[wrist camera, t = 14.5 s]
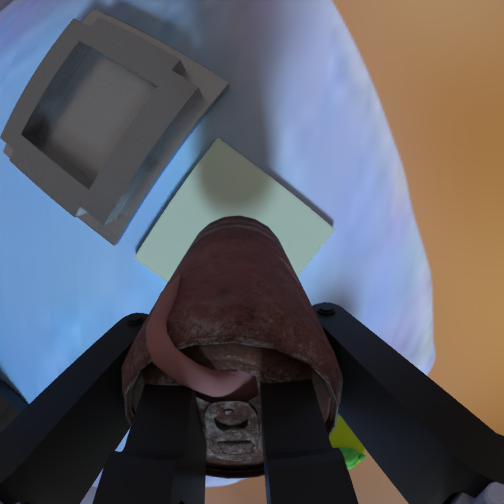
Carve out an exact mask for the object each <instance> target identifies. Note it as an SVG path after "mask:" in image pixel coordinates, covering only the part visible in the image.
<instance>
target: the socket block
mask: <svg viewBox="0 0 504 504" xmlns="http://www.w3.org/2000/svg"><path fill="white" fill-rule="evenodd" d="M228 87H229V83H228V82H227V81H225V80H224V79H222V78H221V77H219V76H218V75H216V74H214V73H213V72H211V71H210V70H208V69H207V68H205V67H203V66H202V65H200V64H198V63H197V62H195V61H194V60H192V59H190V58H189V57H187V56H185V55H183V54H182V53H180V52H178V51H177V50H175V49H173V48H171V47H170V46H168V45H166V44H164V43H162V42H160V41H159V40H157V39H155V38H153V37H151V36H149V35H147V34H145V33H143V32H141V31H140V30H138V29H136V28H134V27H131V26H129V25H127V24H125V23H123V22H121V21H119V20H117V19H115V18H112V17H110V16H108V15H106V14H104V13H101V12H99V11H97V10H94V9H93V10H92V11H91V12H90V13H89V14H88V16H87V17H86V18H85V19H84V20H83V21H82V22H80V21H78V20H76V19H73V20H72V21H71V22H70V24H69V25H68V26H67V27H66V29H65V30H64V31H63V32H62V34H61V35H60V36H59V38H58V39H57V40H56V42H55V43H54V44H53V46H52V47H51V49H50V50H49V51H48V53H47V54H46V56H45V57H44V59H43V60H42V62H41V63H40V65H39V66H38V68H37V69H36V71H35V73H34V74H33V76H32V77H31V79H30V81H29V82H28V84H27V86H26V88H25V89H24V91H23V93H22V95H21V96H20V98H19V100H18V102H17V104H16V106H15V108H14V110H13V111H12V113H11V115H10V117H9V120H8V122H7V124H6V126H5V128H4V130H3V132H2V134H1V137H0V138H1V139H2V140H3V141H5V142H6V143H7V144H6V146H5V148H4V151H3V152H4V153H5V154H6V155H7V156H8V157H9V158H10V161H11V162H12V163H13V164H14V165H15V166H16V167H17V168H18V169H19V170H20V171H21V172H23V173H24V174H25V175H26V176H27V177H28V178H29V179H30V180H31V181H33V182H34V183H35V184H36V185H37V186H38V187H39V188H40V189H42V190H43V191H44V192H45V193H46V194H47V195H48V196H50V197H51V198H52V199H53V200H54V201H56V202H57V203H58V204H59V205H60V206H61V207H63V208H64V209H65V210H66V211H67V212H69V213H70V214H71V215H72V216H74V217H78V218H79V219H81V220H82V221H83V222H84V223H86V224H87V225H88V226H89V227H91V228H92V229H93V230H94V231H96V232H97V233H98V234H99V235H101V236H102V237H103V238H105V239H106V240H107V241H109V242H110V243H111V244H112V245H116V244H117V243H118V242H119V240H120V239H121V237H122V235H123V234H124V232H125V230H126V229H127V227H128V225H129V224H130V222H131V220H132V219H133V217H134V216H135V214H136V212H137V211H138V209H139V208H140V206H141V204H142V203H143V201H144V200H145V198H146V197H147V195H148V194H149V192H150V191H151V189H152V188H153V186H154V185H155V183H156V182H157V180H158V179H159V177H160V176H161V174H162V173H163V171H164V170H165V169H166V167H167V166H168V164H169V163H170V161H171V160H172V159H173V157H174V156H175V154H176V153H177V152H178V150H179V149H180V148H181V146H182V145H183V144H184V142H185V141H186V139H187V138H188V137H189V136H190V134H191V133H192V132H193V130H194V129H195V128H196V126H197V125H198V124H199V123H200V121H201V120H202V119H203V117H204V116H205V115H206V114H207V112H208V111H209V110H210V109H211V107H212V106H213V105H214V104H215V103H216V101H217V100H218V99H219V98H220V97H221V95H222V94H223V93H224V92H225V91H226V89H227V88H228Z"/></svg>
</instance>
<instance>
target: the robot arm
mask: <svg viewBox="0 0 504 504" xmlns="http://www.w3.org/2000/svg"><path fill="white" fill-rule="evenodd" d="M312 307H313V310H314V312H315V314H316V316H317V318H318V320H319V322H320V324H321V326H322V328H323V330H324V332H325V334H326V337H327V339H328V341H329V343H330V345H331V347H332V349H333V351H334V353H335V356H336V359H337V362H338V365H339V368H340V371H341V374H342V377H343V385H342V393H341V400H340V405H339V409H338V413H339V414H340V416H341V417H342V418H343V420H344V421H345V422H346V424H347V425H348V426H349V428H350V429H351V430H352V432H353V433H354V434H355V436H356V437H357V438H358V440H359V441H360V442H361V443H362V445H363V446H364V447H365V449H366V450H367V451H368V453H369V454H370V455H371V456H372V458H373V459H374V460H375V462H376V463H377V464H378V465H379V467H380V468H381V469H382V470H383V472H384V473H385V474H386V476H387V477H388V478H389V479H390V481H391V482H392V483H393V484H394V486H395V487H396V488H397V489H398V491H399V492H400V493H401V494H402V496H403V497H404V498H405V499H406V500H407V502H408V503H409V504H504V436H502V435H500V434H497V433H495V432H494V431H493V430H492V429H490V428H489V427H488V426H487V425H486V424H485V423H483V422H482V421H481V420H480V419H479V418H477V417H476V416H475V415H474V414H472V413H471V412H470V411H469V410H468V409H467V408H465V407H464V406H463V405H462V404H460V403H459V402H458V401H457V400H456V399H454V398H453V397H452V396H451V395H450V394H448V393H447V392H446V391H445V390H443V389H442V388H441V387H440V386H439V385H437V384H436V383H435V382H434V381H433V380H431V379H430V378H429V377H428V376H426V375H425V374H424V373H423V372H421V371H420V370H419V369H418V368H417V367H415V366H414V365H413V364H412V363H410V362H409V361H408V360H407V359H405V358H404V357H403V356H402V355H401V354H399V353H398V352H397V351H396V350H394V349H393V348H392V347H391V346H389V345H388V344H387V343H386V342H384V341H383V340H382V339H381V338H379V337H378V336H377V335H376V334H374V333H373V332H372V331H371V330H369V329H368V328H367V327H366V326H364V325H363V324H362V323H361V322H359V321H358V320H357V319H356V318H354V317H353V316H352V315H351V314H349V313H348V312H347V311H346V310H344V309H343V308H342V307H340V306H338V305H336V304H332V303H327V302H324V303H319V304H315V305H313V306H312ZM147 317H148V314H144V313H135V314H134V313H132V314H130V315H128V316H125V317H124V318H122V319H121V320H120V321H119V322H117V323H116V324H115V325H114V326H113V327H112V328H111V329H110V330H108V331H107V332H106V333H105V334H104V335H103V336H102V337H101V338H100V339H98V340H97V341H96V342H95V343H94V344H93V345H92V346H91V347H90V348H89V349H87V350H86V351H85V352H84V353H83V354H82V355H81V356H80V357H79V358H78V359H77V360H75V361H74V362H73V363H72V364H71V365H70V366H69V367H68V368H67V369H66V370H65V371H64V372H63V373H62V374H60V375H59V376H58V377H57V378H56V379H55V380H54V381H53V382H52V383H51V384H50V385H49V386H48V387H47V388H46V389H45V390H44V391H43V392H41V393H40V394H39V395H38V396H37V397H36V398H35V399H34V400H33V401H32V402H31V403H30V404H29V405H27V404H26V403H25V402H24V401H23V400H22V398H21V397H20V396H19V395H18V394H17V393H16V392H15V391H14V390H13V389H11V388H10V387H9V386H8V385H7V384H6V383H4V382H3V381H2V380H0V504H80V502H81V501H82V500H83V498H84V497H85V495H86V493H87V492H88V490H89V489H90V487H91V486H92V484H93V483H94V481H95V480H96V478H97V477H98V475H99V474H100V472H101V471H102V469H103V468H104V469H103V472H102V475H101V478H100V481H99V484H98V488H97V491H96V494H95V498H94V501H93V504H204V502H205V501H204V500H205V476H206V455H207V443H206V439H205V435H204V431H203V427H202V422H201V418H200V413H199V409H198V405H197V400H196V396H197V397H199V394H198V391H196V390H195V391H194V390H193V389H191V388H189V387H186V386H184V385H153V384H145V386H144V389H143V391H142V394H141V397H140V400H139V403H138V406H137V409H136V412H135V415H134V419H133V422H132V425H131V426H130V424H129V422H128V420H127V418H126V416H125V405H124V397H123V393H122V365H123V363H124V361H125V359H126V357H127V354H128V352H129V350H130V348H131V346H132V343H133V342H134V340H135V338H136V336H137V334H138V333H139V331H140V329H141V327H142V326H143V324H144V322H145V320H146V319H147ZM195 394H196V395H195ZM260 398H261V423H262V446H263V459H264V472H265V486H266V498H267V504H358V501H357V497H356V494H355V491H354V488H353V484H352V481H351V478H350V475H349V472H348V468H347V465H346V462H345V459H344V456H343V454H342V452H341V450H340V449H339V448H338V447H337V448H333V447H332V445H331V442H330V439H329V436H328V432H327V429H326V426H325V422H324V419H323V415H322V412H321V409H320V406H319V402H318V399H317V396H316V392H315V389H314V386H313V382H312V379H309V380H300V381H289V382H278V383H260ZM130 427H131V428H130ZM129 429H130V431H129V434H128V437H127V441H126V444H125V447H124V449H123V451H121V452H118V451H115V450H116V448H117V447H118V445H119V444H120V442H121V441H122V439H123V438H124V436H125V435H126V433H127V432H128V430H129Z"/></svg>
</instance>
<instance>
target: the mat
mask: <svg viewBox="0 0 504 504" xmlns="http://www.w3.org/2000/svg"><path fill="white" fill-rule="evenodd" d="M238 215H240V216H245V217H249V218H254V219H256V220H258V221H259V222H261V223H263V224H264V225H266V226H268V227H269V228H270V229H271V231H272V232H273V233H274V234H275V235H276V236H277V238H278V239H279V241H280V243H281V245H282V247H283V249H284V251H285V253H286V255H287V257H288V259H289V261H290V263H291V265H292V267H293V269H294V271H295V273H296V275H297V276H298V275H299V274H300V272H301V271H302V270H303V269H304V268H305V266H306V265H307V264H308V263H309V262H310V260H311V259H312V258H313V257H314V255H315V254H316V253H317V252H318V251H319V249H320V248H321V247H322V246H323V244H324V243H325V242H326V241H327V239H328V238H329V237H330V236H331V234H332V233H333V232H334V231H335V229H334V228H333V227H332V226H331V225H329V224H328V223H327V222H326V221H325V220H323V219H322V218H321V217H320V216H319V215H317V214H316V213H315V212H314V211H313V210H311V209H310V208H309V207H308V206H307V205H305V204H304V203H303V202H302V201H300V200H299V199H298V198H297V197H295V196H294V195H293V194H292V193H290V192H289V191H288V190H287V189H285V188H284V187H283V186H282V185H280V184H279V183H278V182H276V181H275V180H274V179H273V178H271V177H270V176H269V175H267V174H266V173H265V172H264V171H262V170H261V169H260V168H258V167H257V166H256V165H254V164H253V163H252V162H250V161H249V160H248V159H246V158H245V157H244V156H242V155H241V154H240V153H238V152H237V151H236V150H234V149H233V148H231V147H230V146H229V145H227V144H226V143H225V142H223V141H222V140H220V139H219V138H217V139H216V140H215V142H214V143H213V144H212V145H211V147H210V148H209V149H208V151H207V152H206V153H205V155H204V156H203V157H202V159H201V160H200V161H199V163H198V164H197V165H196V167H195V168H194V169H193V171H192V172H191V173H190V175H189V176H188V178H187V179H186V180H185V182H184V183H183V185H182V186H181V187H180V189H179V190H178V192H177V193H176V195H175V196H174V197H173V199H172V200H171V202H170V203H169V205H168V206H167V208H166V209H165V211H164V212H163V214H162V215H161V217H160V218H159V220H158V221H157V223H156V224H155V226H154V227H153V229H152V230H151V232H150V233H149V235H148V237H147V238H146V240H145V241H144V243H143V244H142V246H141V248H140V249H139V251H138V252H137V254H136V256H135V257H134V258H135V259H136V260H137V261H139V262H140V263H141V264H143V265H144V266H146V267H147V268H148V269H150V270H151V271H153V272H154V273H155V274H157V275H158V276H160V277H161V278H162V279H164V280H165V281H167V282H168V281H169V280H170V278H171V277H172V275H173V273H174V272H175V270H176V268H177V267H178V265H179V263H180V262H181V260H182V259H183V257H184V255H185V254H186V252H187V251H188V249H189V247H190V246H191V244H192V243H193V241H194V240H195V238H196V236H197V235H198V233H199V232H200V231H201V230H203V229H204V228H205V227H206V226H207V225H208V224H209V223H211V222H213V221H216V220H218V219H220V218H222V217H228V216H238Z"/></svg>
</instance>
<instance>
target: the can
mask: <svg viewBox="0 0 504 504" xmlns="http://www.w3.org/2000/svg"><path fill="white" fill-rule="evenodd" d="M309 379H312V382H313V386H314V389H315V392H316V396H317V399H318V402H319V406H320V409H321V412H322V415H323V419H324V422H325V426H326V429H327V432H328V436H330V435H331V433H332V432H333V430H334V428H335V427H336V423H337V416H338V409H339V405H340V400H341V393H342V385H343V377H342V374H341V371H340V368H339V365H338V362H337V359H336V356H335V353H334V351H333V349H332V347H331V345H330V343H329V341H328V339H327V337H326V334H325V332H324V330H323V328H322V326H321V324H320V322H319V320H318V318H317V316H316V314H315V312H314V310H313V307H312V305H311V303H310V301H309V299H308V297H307V295H306V293H305V291H304V289H303V287H302V285H301V283H300V281H299V279H298V277H297V275H296V273H295V271H294V269H293V267H292V265H291V263H290V261H289V259H288V257H287V255H286V253H285V251H284V249H283V247H282V245H281V243H280V241H279V239H278V238H277V236H276V235H275V234H274V233H273V232H272V231H271V229H270V228H269V227H268V226H266V225H264V224H263V223H261V222H259V221H258V220H256V219H254V218H249V217H245V216H240V215H238V216H228V217H222V218H220V219H218V220H216V221H213V222H211V223H209V224H208V225H207V226H206V227H205V228H204V229H203V230H201V231H200V232H199V233H198V235H197V236H196V238H195V240H194V241H193V243H192V244H191V246H190V247H189V249H188V251H187V252H186V254H185V255H184V257H183V259H182V260H181V262H180V263H179V265H178V267H177V268H176V270H175V272H174V273H173V275H172V277H171V278H170V280H169V281H168V283H167V285H166V286H165V288H164V290H163V291H162V292H161V294H160V296H159V298H158V300H157V302H156V303H155V305H154V307H153V308H152V310H151V312H150V314H149V315H148V317H147V319H146V320H145V322H144V324H143V326H142V327H141V329H140V331H139V333H138V334H137V336H136V338H135V340H134V342H133V343H132V346H131V348H130V350H129V352H128V354H127V357H126V359H125V361H124V363H123V365H122V393H123V397H124V405H125V416H126V418H127V420H128V422H129V424H130V426H131V425H132V422H133V419H134V415H135V412H136V409H137V406H138V403H139V400H140V397H141V394H142V391H143V389H144V386H145V384H153V385H184V386H186V387H189V388H191V389H193V390H194V391H195V390H196V391H198V394H199V397H197V396H196V400H197V405H198V409H199V413H200V418H201V422H202V427H203V431H204V435H205V439H206V443H207V455H206V476H212V477H219V478H227V479H232V478H254V477H260V476H264V475H265V472H264V459H263V446H262V423H261V398H260V383H278V382H289V381H300V380H309ZM195 395H196V394H195Z"/></svg>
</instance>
